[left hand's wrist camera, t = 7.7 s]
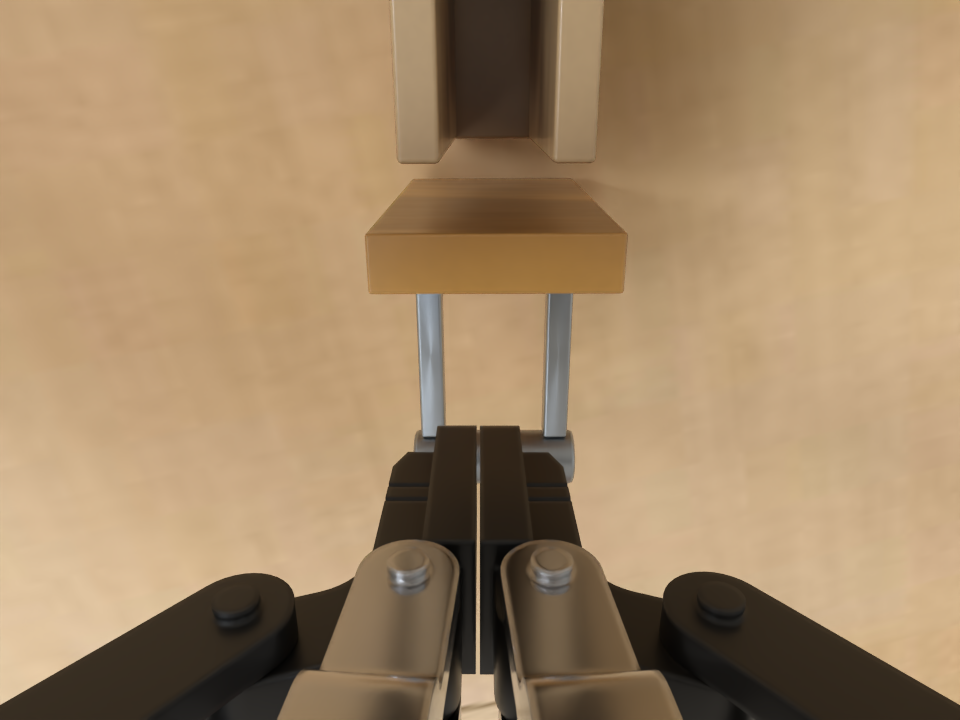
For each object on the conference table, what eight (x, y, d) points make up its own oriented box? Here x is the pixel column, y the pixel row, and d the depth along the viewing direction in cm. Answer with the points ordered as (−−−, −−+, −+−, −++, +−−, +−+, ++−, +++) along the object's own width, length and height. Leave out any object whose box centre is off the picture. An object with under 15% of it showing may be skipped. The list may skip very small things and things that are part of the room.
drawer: (563, 385, 24) (605, 544, 15) (421, 385, 24) (385, 544, 15) (596, -396, 16) (714, -919, 8) (389, -393, 16) (286, -910, 8)
